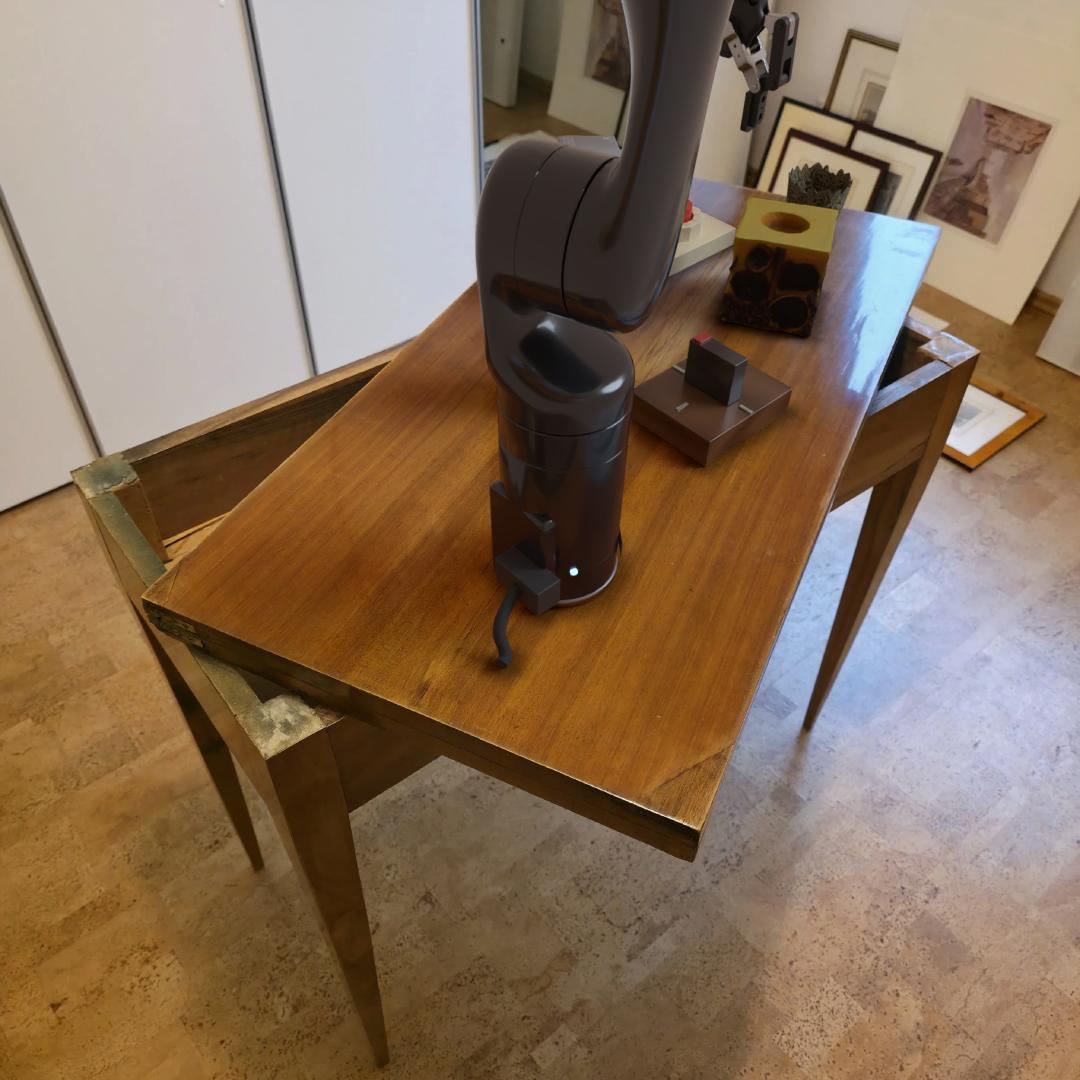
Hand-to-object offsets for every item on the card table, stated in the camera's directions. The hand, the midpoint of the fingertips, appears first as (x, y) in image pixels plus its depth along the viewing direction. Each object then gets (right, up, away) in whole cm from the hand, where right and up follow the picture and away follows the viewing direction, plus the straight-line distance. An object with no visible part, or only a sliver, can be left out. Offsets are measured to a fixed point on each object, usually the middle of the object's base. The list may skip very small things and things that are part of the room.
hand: (711, 118), depth 88 cm
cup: (+16, -5, +22) cm, 27 cm away
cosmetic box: (-12, -13, +13) cm, 23 cm away
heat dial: (-1, -28, -5) cm, 29 cm away
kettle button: (-1, -4, +18) cm, 18 cm away
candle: (+9, -16, +11) cm, 21 cm away
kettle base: (-1, -6, +20) cm, 21 cm away
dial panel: (-1, -30, -3) cm, 30 cm away
